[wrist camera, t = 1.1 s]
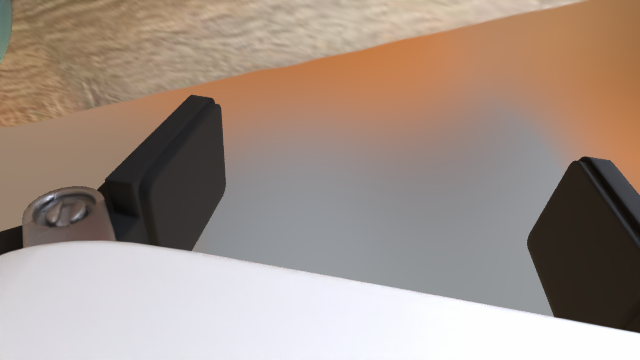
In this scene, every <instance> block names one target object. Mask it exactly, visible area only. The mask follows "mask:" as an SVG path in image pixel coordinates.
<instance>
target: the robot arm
mask: <svg viewBox="0 0 640 360" xmlns="http://www.w3.org/2000/svg"><path fill="white" fill-rule="evenodd" d="M221 115H222V114H221V107H220V105H219V104H215V102H214V100H213V98H209V97H202V96H196V95H190V96H189V97H188V98H187V99H186V100H185V101H184V102H183V103H182V104H181V105H180V106H179V107H178V108H177V109H176V110H175V111H174V112H173V113H172V114H171V115H170V116H169V117H168V118H167V119H166V120H165V121H164V122H163V123H162V124H161V125H160V126H159V127H158V128H157V129H156V130H155V131H154V132H153V133H152V134H151V135H150V136H149V137H147V138H146V139H145V141H144V142H142V143H141V144H140V145H139V146H138V147H137V148H136V149H135V150H134V151H133V152H132V153H131V154H130V155H129V156H128V157H127V158H126V159H125V160H124V161H123V162H122V163H121V164H120V165H119V166H118V167H117V168H116V169H115V170H114V171H113V172H112V173H111V174H110V175H109V176H108V177H107V178H106V179H105V183H103V184H102V185H101V186H100V187H99V188H98V189H97V190H95V189H93V188H89V187H83V186H72V187H66V188H60V189H57V190H54V191H50V192H48V193H46V194H44V195H42V196H40V197H38V198H37V199H35V200H34V201H33V202H32V203H30V204H29V205H28V207H27V208H26V209H25V211H24V214H23V218H22V225H21V226H18V227H15V228H11V229H8V230H5V231H1V232H0V360H640V195H639V194H638V193H637V192H636V190H635V189H634V188H633V187H632V185H631V184H629V182H628V181H627V180H626V178H625V177H624V176H623V175H622V173H621V172H620V171H619V170H618V169H617V167H616V166H615V165H614V164H613V163H612V162H611V161H610V160H604V159H598V158H591V157H582V158H581V159H579V160H578V161H573V162H572V163H571V164H570V165H569V167H568V169H567V171H566V172H565V174H564V176H563V177H562V179H561V181H560V182H559V184H558V186H557V188H556V189H555V191H554V193H553V194H552V196H551V198H550V200H549V201H548V203H547V205H546V207H545V208H544V210H543V212H542V213H541V215H540V217H539V218H538V220H537V222H536V224H535V225H534V227H533V229H532V230H531V232H530V234H529V236H528V240H527V246H528V250H529V252H530V255H531V258H532V260H533V263H534V265H535V268H536V271H537V273H538V276H539V278H540V281H541V283H542V286H543V289H544V291H545V294H546V297H547V299H548V302H549V304H550V307H551V310H552V312H553V315H554V317H550V316H545V315H539V314H534V313H528V312H523V311H518V310H513V309H507V308H501V307H497V306H491V305H486V304H480V303H475V302H470V301H464V300H459V299H453V298H448V297H442V296H437V295H431V294H426V293H420V292H415V291H409V290H404V289H399V288H393V287H388V286H382V285H377V284H371V283H365V282H360V281H354V280H349V279H344V278H338V277H333V276H326V275H321V274H315V273H310V272H304V271H299V270H293V269H288V268H282V267H276V266H271V265H265V264H260V263H254V262H247V261H243V260H236V259H232V258H226V257H220V256H215V255H209V254H203V253H198V252H192V249H193V248H194V246H195V244H196V242H197V241H198V239H199V237H200V235H201V234H202V232H203V230H204V228H205V226H206V225H207V223H208V221H209V219H210V218H211V216H212V214H213V212H214V210H215V209H216V207H217V205H218V203H219V202H220V200H221V198H222V196H223V194H224V191H225V186H226V178H225V162H224V146H223V130H222V116H221Z"/></svg>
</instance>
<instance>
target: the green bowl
mask: <svg viewBox="0 0 640 360" xmlns="http://www.w3.org/2000/svg"><path fill="white" fill-rule="evenodd" d="M11 29H12V6H11V1H10V0H0V63H1V61H2V59H3V57H4V55H5V53H6V50H7V47H8V44H9V40H10V36H11Z"/></svg>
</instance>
